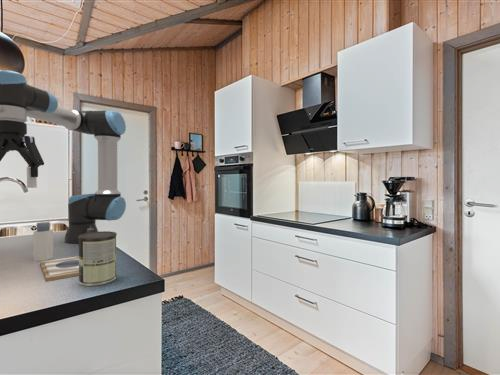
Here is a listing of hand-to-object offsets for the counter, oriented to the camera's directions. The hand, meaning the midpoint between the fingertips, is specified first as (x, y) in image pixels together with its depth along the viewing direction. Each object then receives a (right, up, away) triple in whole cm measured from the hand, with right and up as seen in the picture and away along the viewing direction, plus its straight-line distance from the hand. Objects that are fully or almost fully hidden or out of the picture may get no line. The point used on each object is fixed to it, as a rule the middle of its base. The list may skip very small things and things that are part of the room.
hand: (12, 187), depth 91 cm
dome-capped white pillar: (-3, -28, +17) cm, 32 cm away
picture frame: (+14, -28, +7) cm, 32 cm away
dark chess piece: (+11, -28, +25) cm, 39 cm away
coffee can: (+30, -29, -5) cm, 42 cm away
